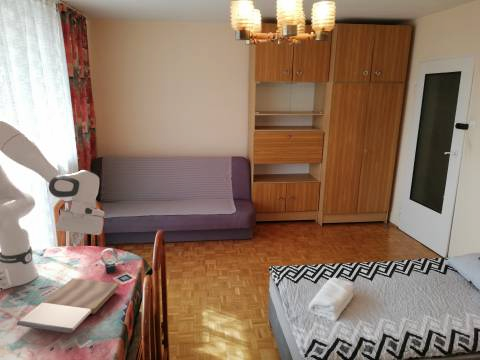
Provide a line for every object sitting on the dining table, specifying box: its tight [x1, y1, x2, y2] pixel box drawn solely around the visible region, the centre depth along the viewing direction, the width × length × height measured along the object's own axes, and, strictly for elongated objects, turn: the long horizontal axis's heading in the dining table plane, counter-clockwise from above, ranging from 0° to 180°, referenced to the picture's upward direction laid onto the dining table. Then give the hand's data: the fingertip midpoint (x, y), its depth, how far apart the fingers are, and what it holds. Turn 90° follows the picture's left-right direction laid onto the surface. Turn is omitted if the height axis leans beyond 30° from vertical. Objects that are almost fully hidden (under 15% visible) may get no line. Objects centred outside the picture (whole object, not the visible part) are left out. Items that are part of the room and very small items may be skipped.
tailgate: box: [16, 301, 91, 334], centre depth 124 cm, size 21×2×12 cm
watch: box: [100, 247, 119, 274], centre depth 165 cm, size 6×8×11 cm
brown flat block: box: [42, 278, 120, 315], centre depth 140 cm, size 22×18×4 cm
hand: (75, 244), depth 135 cm, fingers closed
